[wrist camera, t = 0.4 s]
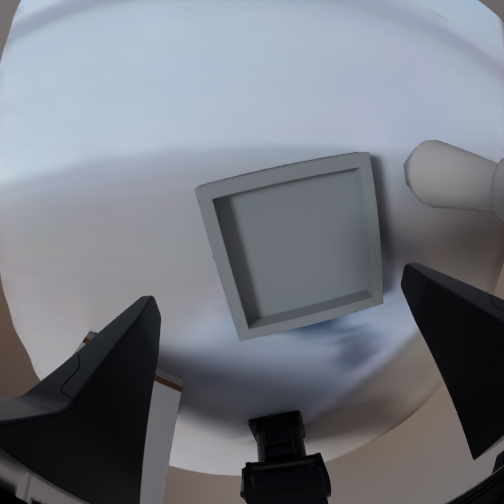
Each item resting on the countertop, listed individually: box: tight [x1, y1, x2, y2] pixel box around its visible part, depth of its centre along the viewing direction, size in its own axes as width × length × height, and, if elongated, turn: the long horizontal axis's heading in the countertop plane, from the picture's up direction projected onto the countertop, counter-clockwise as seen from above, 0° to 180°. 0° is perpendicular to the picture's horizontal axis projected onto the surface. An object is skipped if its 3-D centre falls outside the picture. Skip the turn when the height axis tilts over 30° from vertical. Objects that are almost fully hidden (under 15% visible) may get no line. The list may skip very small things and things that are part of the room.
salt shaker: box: [404, 140, 504, 222], centre depth 16 cm, size 6×6×13 cm
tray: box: [195, 152, 383, 341], centre depth 22 cm, size 13×13×2 cm
